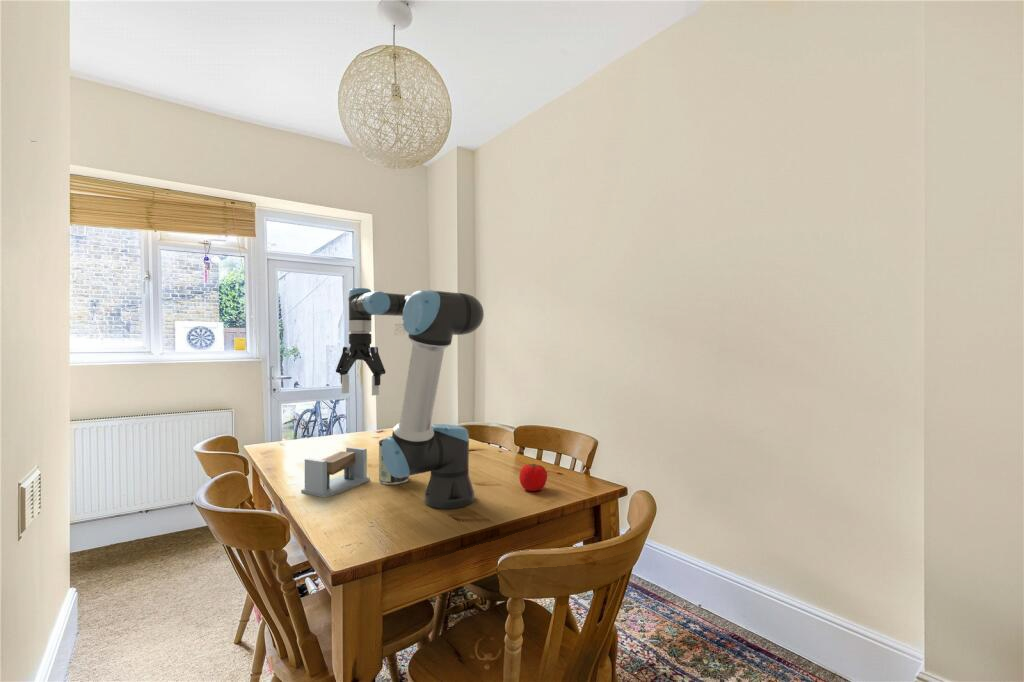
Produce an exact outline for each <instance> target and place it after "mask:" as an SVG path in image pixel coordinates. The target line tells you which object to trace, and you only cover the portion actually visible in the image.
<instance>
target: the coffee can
mask: <svg viewBox="0 0 1024 682" xmlns="http://www.w3.org/2000/svg"><path fill="white" fill-rule="evenodd" d="M384 439H385V438H384ZM384 439H381V440H379V441H378V448H379V449H378V450H379V451H378V454H379V455H378V463H379V464H378V466H379V468H378V469H379V470H378V471H379V474H378V478H379V479H378V482H379V483H380V484H381V485H387V486H388V485H389V486H390V485H391V486H392V485H393V486H395V485H401V484H404V483H406V482H408V481H409V480H410V478H409V477H399V478H396V477H393V476H392V475H391V474H390V473H389V472H388V470H387V469H386V467H385V464H384V461H383V457H382V443H383V440H384Z"/></svg>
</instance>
